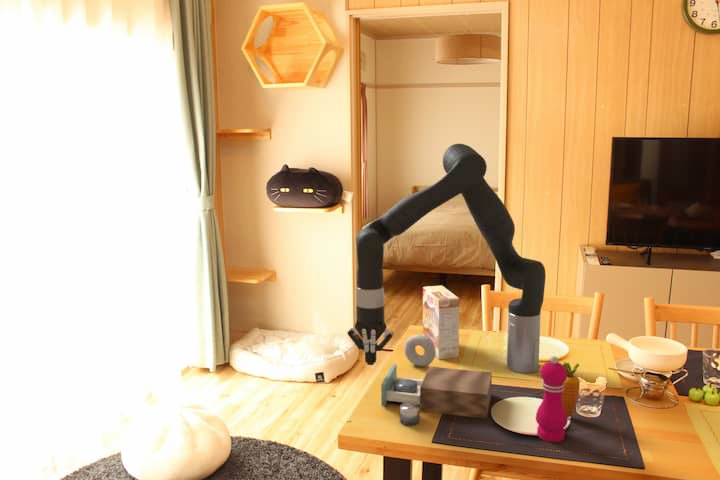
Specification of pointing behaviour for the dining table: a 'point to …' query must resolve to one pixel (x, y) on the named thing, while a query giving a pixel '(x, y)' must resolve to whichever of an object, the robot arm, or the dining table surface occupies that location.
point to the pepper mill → (552, 402)
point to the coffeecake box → (441, 320)
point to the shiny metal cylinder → (409, 414)
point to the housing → (456, 392)
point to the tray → (390, 395)
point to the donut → (427, 346)
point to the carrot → (570, 389)
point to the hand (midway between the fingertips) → (370, 364)
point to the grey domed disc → (405, 386)
